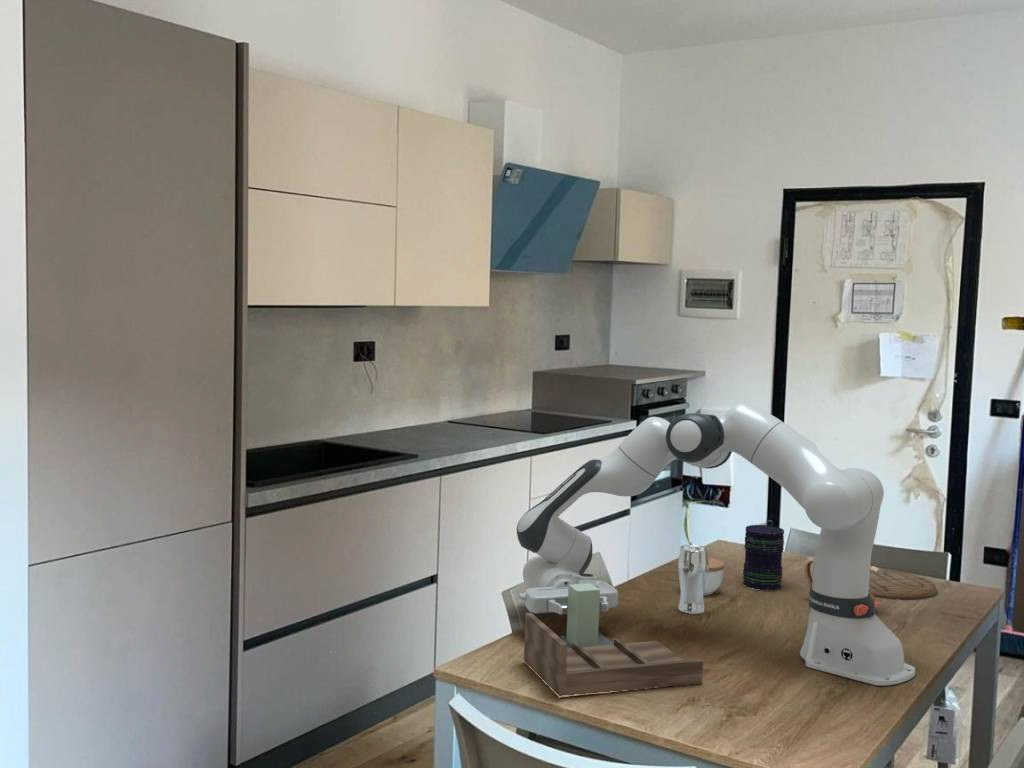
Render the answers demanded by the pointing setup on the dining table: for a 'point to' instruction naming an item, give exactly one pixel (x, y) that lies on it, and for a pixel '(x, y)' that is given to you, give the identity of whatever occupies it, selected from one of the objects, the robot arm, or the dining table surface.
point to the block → (583, 614)
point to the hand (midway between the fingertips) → (584, 609)
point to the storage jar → (763, 557)
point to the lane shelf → (604, 663)
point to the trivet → (900, 585)
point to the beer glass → (692, 577)
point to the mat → (601, 640)
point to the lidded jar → (714, 575)
